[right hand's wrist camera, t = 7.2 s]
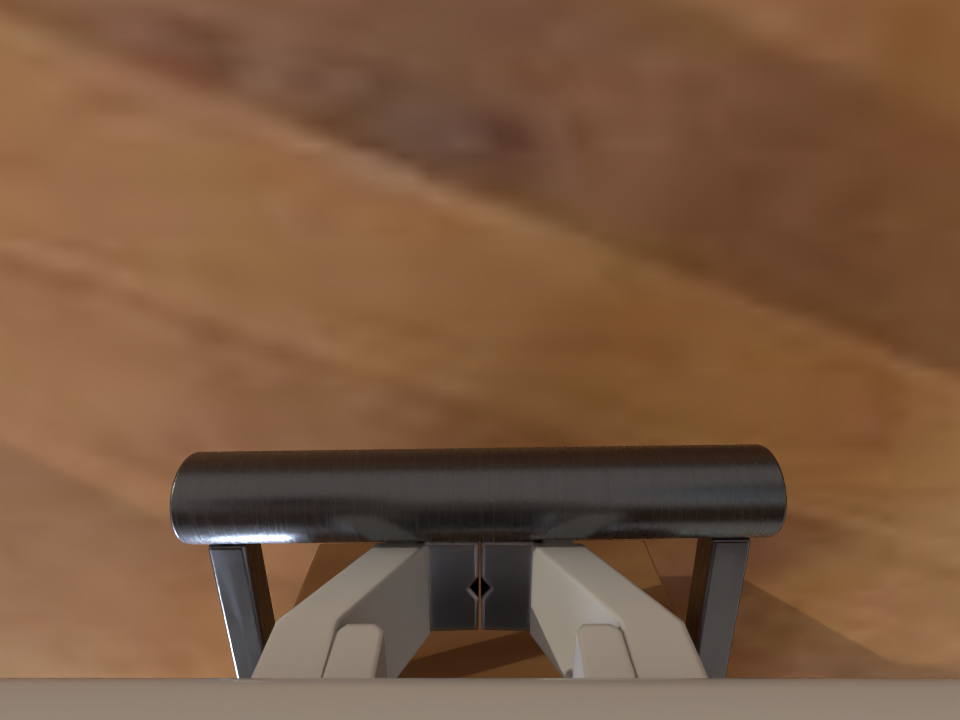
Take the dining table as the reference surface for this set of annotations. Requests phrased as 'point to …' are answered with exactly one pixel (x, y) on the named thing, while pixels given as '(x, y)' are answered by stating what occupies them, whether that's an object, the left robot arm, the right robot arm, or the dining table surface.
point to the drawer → (481, 527)
